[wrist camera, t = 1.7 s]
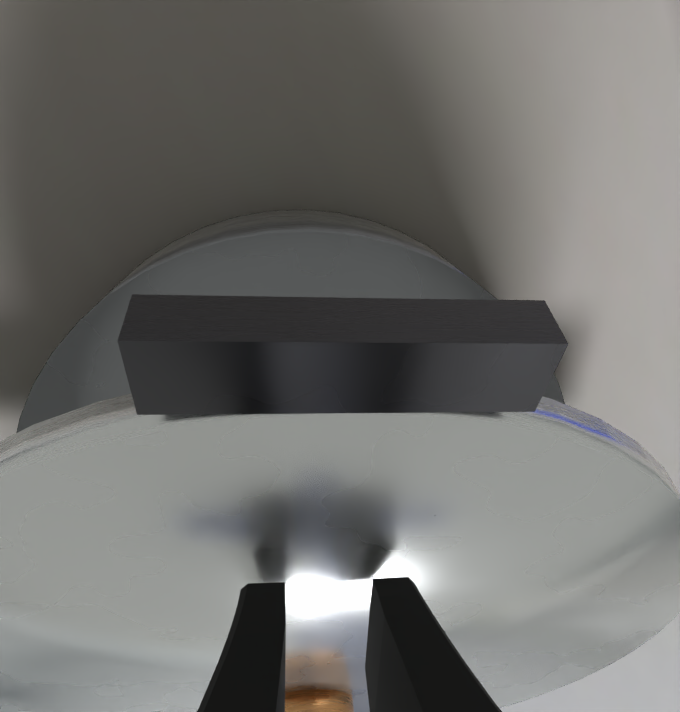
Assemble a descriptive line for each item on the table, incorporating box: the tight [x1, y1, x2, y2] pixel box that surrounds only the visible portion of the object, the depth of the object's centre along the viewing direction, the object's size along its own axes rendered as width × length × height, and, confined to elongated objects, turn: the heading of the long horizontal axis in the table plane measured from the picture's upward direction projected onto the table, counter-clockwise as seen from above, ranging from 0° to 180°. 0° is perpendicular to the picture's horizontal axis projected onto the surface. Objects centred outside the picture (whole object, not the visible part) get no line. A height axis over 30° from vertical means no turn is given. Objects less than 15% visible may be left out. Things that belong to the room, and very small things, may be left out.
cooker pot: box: [17, 210, 565, 433], centre depth 18 cm, size 18×20×4 cm
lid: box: [0, 294, 680, 712], centre depth 12 cm, size 18×17×2 cm
